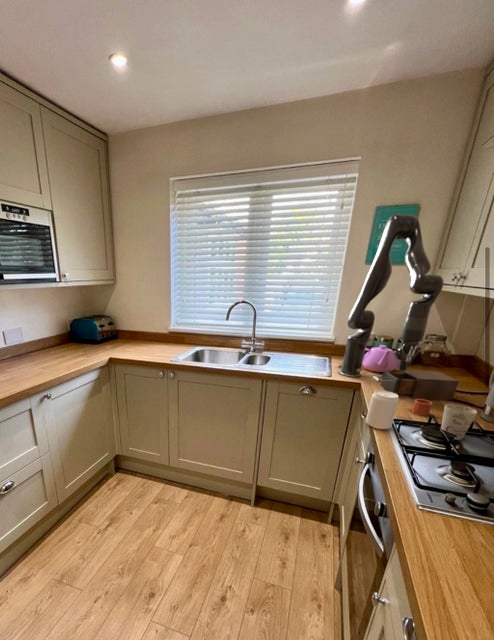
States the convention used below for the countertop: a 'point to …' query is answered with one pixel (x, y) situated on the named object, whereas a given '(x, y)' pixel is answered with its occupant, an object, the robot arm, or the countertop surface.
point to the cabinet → (433, 385)
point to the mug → (457, 419)
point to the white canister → (382, 409)
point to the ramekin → (422, 407)
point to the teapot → (380, 359)
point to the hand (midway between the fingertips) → (402, 370)
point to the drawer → (397, 382)
